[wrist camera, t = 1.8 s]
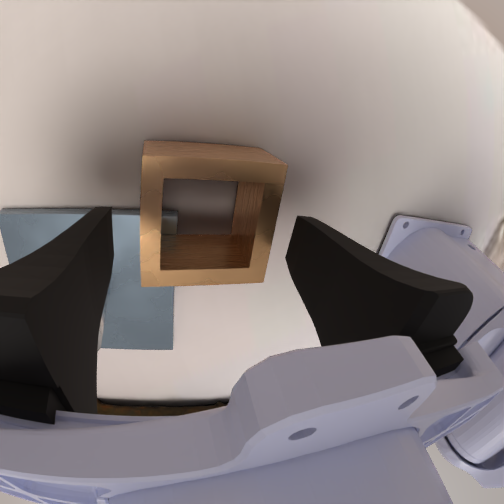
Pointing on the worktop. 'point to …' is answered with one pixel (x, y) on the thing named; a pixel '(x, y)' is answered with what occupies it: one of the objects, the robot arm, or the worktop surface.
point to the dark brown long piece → (151, 410)
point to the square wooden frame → (204, 245)
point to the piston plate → (122, 279)
